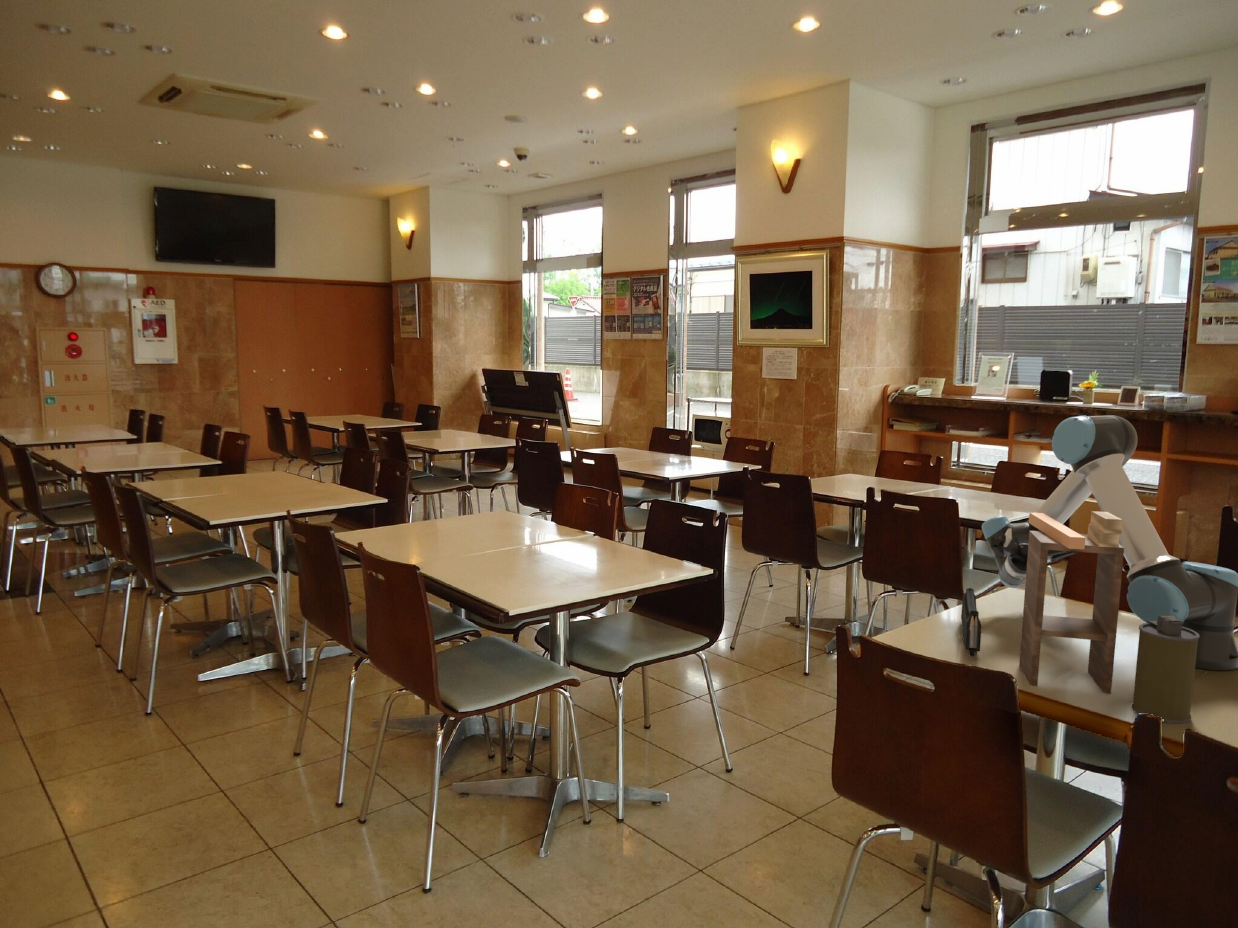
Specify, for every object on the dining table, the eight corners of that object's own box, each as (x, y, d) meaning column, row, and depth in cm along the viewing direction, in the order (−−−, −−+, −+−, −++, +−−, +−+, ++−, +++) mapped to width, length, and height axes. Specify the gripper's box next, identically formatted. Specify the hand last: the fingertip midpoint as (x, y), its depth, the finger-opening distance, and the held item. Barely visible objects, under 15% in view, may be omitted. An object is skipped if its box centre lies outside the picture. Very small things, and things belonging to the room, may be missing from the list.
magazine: (962, 588, 239) (968, 582, 211) (975, 589, 238) (983, 584, 210) (959, 652, 236) (965, 655, 208) (972, 653, 235) (980, 657, 207)
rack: (1094, 672, 202) (1109, 508, 197) (1111, 694, 189) (1127, 520, 184) (1019, 665, 206) (1031, 504, 201) (1030, 686, 193) (1043, 515, 188)
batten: (1028, 522, 211) (1029, 512, 210) (1042, 523, 210) (1042, 513, 210) (1069, 548, 183) (1070, 536, 183) (1084, 549, 183) (1085, 537, 182)
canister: (1203, 723, 174) (1213, 626, 172) (1150, 723, 174) (1160, 625, 172) (1168, 702, 185) (1178, 609, 183) (1119, 701, 185) (1127, 609, 182)
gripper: (1074, 578, 231) (1096, 553, 212) (972, 570, 237) (985, 546, 218) (1073, 550, 233) (1095, 524, 214) (972, 544, 240) (985, 517, 221)
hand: (1039, 535), depth 216 cm, fingers open, 13 cm apart
